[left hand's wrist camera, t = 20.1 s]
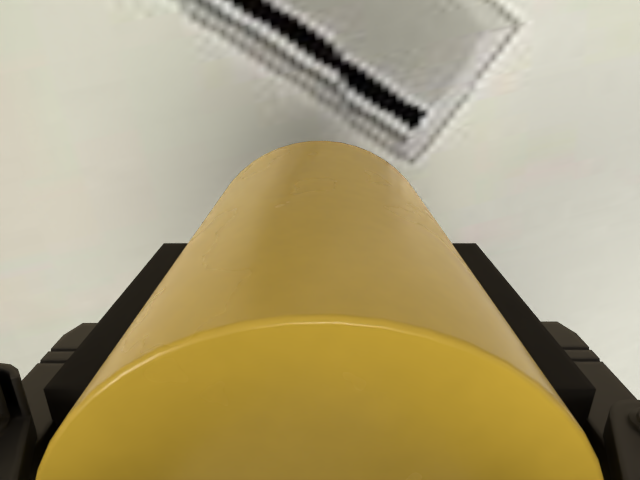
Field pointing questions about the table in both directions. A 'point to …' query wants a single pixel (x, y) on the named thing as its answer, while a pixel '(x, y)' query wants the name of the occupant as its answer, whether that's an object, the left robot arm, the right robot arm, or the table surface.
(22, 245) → the table surface
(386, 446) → the can
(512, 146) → the table surface
